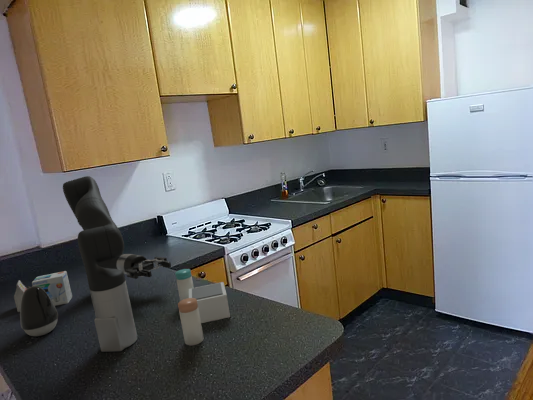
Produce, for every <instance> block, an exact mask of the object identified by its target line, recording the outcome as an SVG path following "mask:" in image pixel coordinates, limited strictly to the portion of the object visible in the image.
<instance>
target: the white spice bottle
mask: <svg viewBox="0 0 533 400" xmlns="http://www.w3.org/2000/svg"><path fill="white" fill-rule="evenodd" d="M177 307H178V308H177V309H178V312H179V318H180V323H181V328H182V333H183V340H184V344H185V345H186V346H196V345H198V344H200V343H202V342H203V341H204V340H205V339H204V337H205V336H204V332H203V327H202V323H201V320H200V315H199V309H198V304H197V299H195V298H187V299H184V300H181V301H180V300H179V302H178V303H177Z"/></svg>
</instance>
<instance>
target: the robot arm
mask: <svg viewBox="0 0 533 400" xmlns="http://www.w3.org/2000/svg"><path fill="white" fill-rule="evenodd" d="M62 191H63V194H64V197H65V200H66V202H67V204H68V206H69V207H70V209H71V211H72V213H73V215H74V216H75V218H76V220H77V223H78V225H79V226H80V227H81V229H82V230H81V231H79V232H78V235H77V245H78V246H77V247H78V249H79V252H80V256H81V259H82V263H83V266H84V270H85V273H86V278H87V279H86V280H87V284H88V290H89V293H90V296H91V303H92V305H93V310H94V315H95V318H94V326H95V330H96V334H97V339H98V342H99V346H100V351H101V352H103V353H104V352H122V351H123V350H124V349H126V348H128V347H130V346H132V345H133V344H135V342H136V341H137V340H138V333H137V329H136V324H135V320H134V314H133V309H132V305H131V300H130V296H129V290H128V286H127V280H126V277H128V278H129V279H135V280H136V279H139V277H140V278H143V277H146V278H151V277H152V275H153V274H152V271H153V270H154V271H155V270H159V268H166V269H171V267H172V264H171V261H168V258H167V257H162V256H154V259H148V258H146V257H145V256H144V255H140V254H133V253H124V251H125V241H124V238H123V235H122V231H121V230H120V228H119V227H118V225H117V224H116V223H115V222H114V220H113V219H112V217H111V214H110V211H109V209H108V206H107V205H106V203H105V201H104V199H103V198H102V194H101V192H100V191H101V190H100V188H99V185H98V183H97V181H96V180H95V179H94V178H93V177H92V176H89V175H87V176H83V177H79V178H76V179H73V180H72V179H71V180H69V181H66V182H64V183H62ZM125 275H126V276H125Z"/></svg>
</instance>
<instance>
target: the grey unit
mask: <svg viewBox="0 0 533 400" xmlns="http://www.w3.org/2000/svg"><path fill="white" fill-rule="evenodd" d="M189 298H195V299H197V304H198V309H199V315H200V320H201V324H204V323H209V322H214V321H218V320H222V319H226V318H230V317H231V314H230V308H229V302H228V300H229V299H228V295H227V291H226V287H225V283H224V281H220V282H215V283H211V284H207V285H206V284H205V285H201V286H196V287H194V288H191V289H189Z"/></svg>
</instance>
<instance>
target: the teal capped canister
mask: <svg viewBox="0 0 533 400" xmlns="http://www.w3.org/2000/svg"><path fill="white" fill-rule="evenodd" d="M174 274H175V279H176V285H177V291H178V296H179V302H180V301H181V300H184V299H187V298H189V289H191V288H195V287H194V281H193V277H192V271H191V269H190V268H182V269H179V270H177V271H175V273H174Z"/></svg>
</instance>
